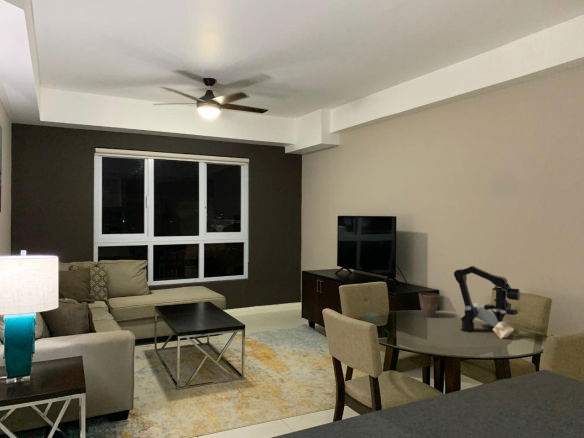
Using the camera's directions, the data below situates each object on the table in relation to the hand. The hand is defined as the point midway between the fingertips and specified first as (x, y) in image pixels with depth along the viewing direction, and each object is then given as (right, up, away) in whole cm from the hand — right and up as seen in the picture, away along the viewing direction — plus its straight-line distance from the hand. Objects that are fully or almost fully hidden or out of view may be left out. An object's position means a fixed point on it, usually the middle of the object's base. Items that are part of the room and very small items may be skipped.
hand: (499, 323), depth 274 cm
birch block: (0, -6, 0) cm, 6 cm away
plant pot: (-28, -7, +50) cm, 58 cm away
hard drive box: (+11, -5, +18) cm, 21 cm away
